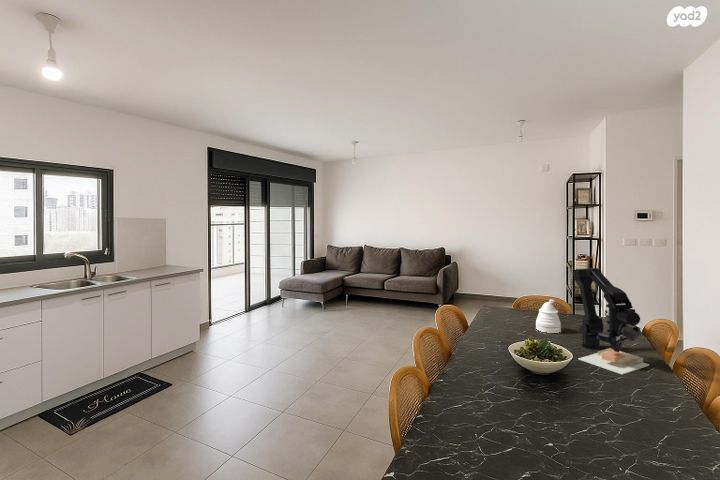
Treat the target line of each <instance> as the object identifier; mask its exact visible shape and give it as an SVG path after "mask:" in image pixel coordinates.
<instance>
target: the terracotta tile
mask: <svg viewBox="0 0 720 480" xmlns="http://www.w3.org/2000/svg"><path fill="white" fill-rule="evenodd" d="M621 358H623V353H620V352H616V351H612V350H609V351H608V352H606V353H604V354H602V359H603V360H607V361H611V362H614V363H615V362H616V361H618V360H620V359H621Z"/></svg>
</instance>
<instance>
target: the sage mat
mask: <svg viewBox="0 0 720 480" xmlns="http://www.w3.org/2000/svg"><path fill="white" fill-rule="evenodd" d="M577 359H578V360H579V361H582V362H584V363H588V364H591V365H593V366H597V367H599V368H603V369H605V370H608V371H611V372H613V373H616V374H619V375H626V374H628V373H631V372H634V371H637V370H640V369H643V368H645V367H648V366H650V363H646V362H643V363H640V364H637V365H634V366H631V367H630V366H627V365H624V364H621V363H618V362H615V363H614V362H611V361H607V360H603V359H602V357H599V356H598V352H597V353H593V354H589V355H584V356H581V357H579V358H577Z"/></svg>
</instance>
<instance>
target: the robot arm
mask: <svg viewBox="0 0 720 480" xmlns="http://www.w3.org/2000/svg"><path fill="white" fill-rule="evenodd" d="M572 273H573V274H572V276H573V278H574V282H575V283H576V284H577V285H578V286H579V290H580V295H581V300H582V306H583V307H582V308H583V312H584V316H583V318H582V320H581V322H582V325H581V326H580V327H579V328H578V334H580V335H582V343H581V344H580V346H581V347H584V348H587V349H590V350H596V349H599V348H601V347H602V346H601V345H600V341H601V342H602V341H603V342H607V343H609V344H610V346H611V349H613V350H614V351H616V352H619V351H621V349H622V345H623V344H624V342H625V341H627V340H630V341H635V340H638V338H639V336H642V332H641V331H642V330H641V328H640V327H639V326H637V325H638V324H640V322H641V316H640V315H639V313H638V312H636V309H634V307H633V305H632V302H631V300H630V299H629V297H628V295H627V293H626V292H625V291H624V290H622V289H621V288H619V287H617V286H615V285H613V284H612V282H610V280H609V279H608V278H607V277H606V276H605V275H604V274H603V273H602V271H601V270H600V269H599V267H598V268H597V267H589V268H576V269H574V271H573V272H572ZM593 283H595V284H596V285H597V286H598V288H599V289H600V290H601V291H602V293H603V298H604V300H605V301H606V302H607V304H606V305H605V307H606V308H608V310H609V320H608V321H607V322H606V324H607V323H609V325H608V329H607V328H606V331H607V332H610V333H607V332H606V331H604V330H605V329H604V323H603V318H602V317H599V316H598V314H597V311H596V305H595V300H594V299H595V298H594V294H593V288H592V284H593ZM628 325H629V326H628ZM632 326H633V327H632Z"/></svg>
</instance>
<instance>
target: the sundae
mask: <svg viewBox="0 0 720 480" xmlns="http://www.w3.org/2000/svg"><path fill="white" fill-rule="evenodd" d="M604 312H605V313H603V315H604V316H605V319H606V324H607V326H609V323H607V321H608V320H609V309H608V310H606V309H605V310H604ZM605 332H606V333H610V332H607V330H606V331H605Z"/></svg>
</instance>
